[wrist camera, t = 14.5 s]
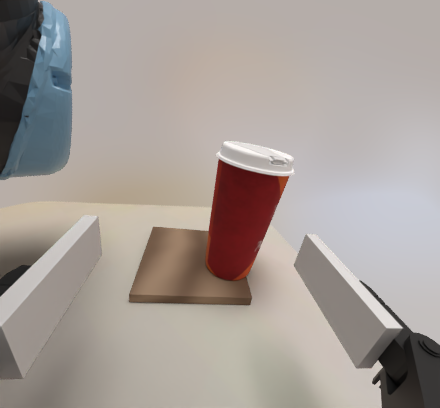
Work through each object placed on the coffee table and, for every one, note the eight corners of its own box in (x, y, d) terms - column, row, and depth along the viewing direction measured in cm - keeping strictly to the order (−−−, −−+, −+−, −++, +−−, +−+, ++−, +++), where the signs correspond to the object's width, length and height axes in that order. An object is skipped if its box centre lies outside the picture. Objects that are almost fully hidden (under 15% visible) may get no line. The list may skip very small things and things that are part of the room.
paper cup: (271, 281, 24) (317, 163, 18) (211, 295, 21) (245, 155, 15) (238, 241, 30) (265, 144, 25) (187, 247, 27) (206, 135, 21)
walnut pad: (129, 301, 20) (129, 294, 19) (153, 232, 31) (153, 226, 30) (249, 304, 22) (252, 298, 21) (232, 238, 32) (233, 233, 32)
